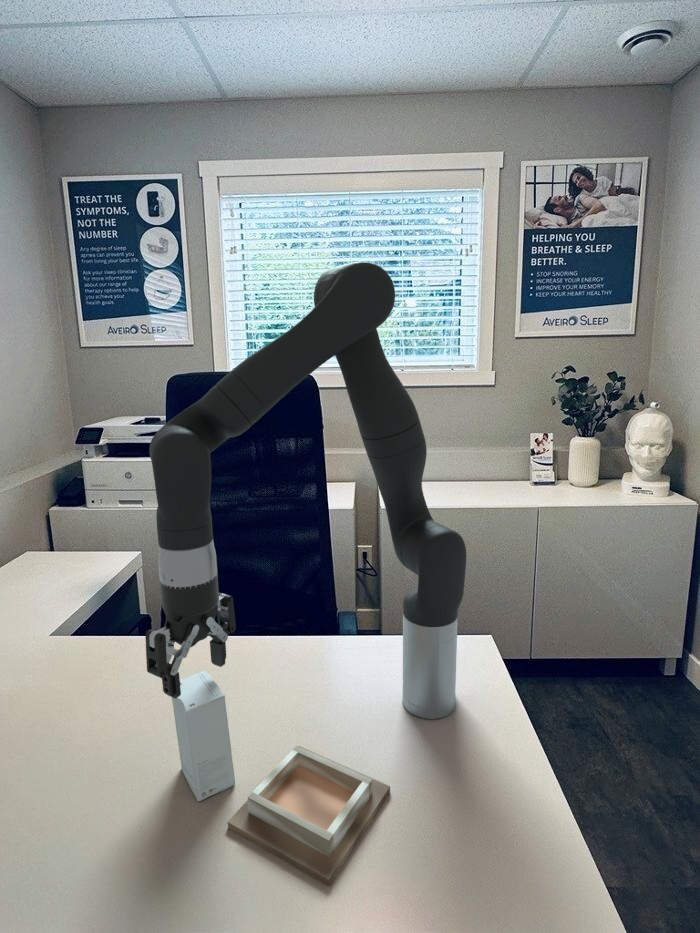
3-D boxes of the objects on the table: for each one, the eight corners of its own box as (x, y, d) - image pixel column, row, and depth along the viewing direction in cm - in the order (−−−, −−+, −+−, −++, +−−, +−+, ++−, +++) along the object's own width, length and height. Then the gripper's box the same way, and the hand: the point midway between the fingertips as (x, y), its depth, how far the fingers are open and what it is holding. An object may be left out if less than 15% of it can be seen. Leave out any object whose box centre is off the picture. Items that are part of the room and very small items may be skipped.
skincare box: (236, 785, 80) (229, 696, 76) (195, 805, 77) (186, 712, 73) (215, 750, 87) (208, 667, 83) (177, 767, 83) (168, 681, 80)
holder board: (299, 751, 86) (298, 731, 86) (390, 792, 78) (390, 771, 77) (227, 827, 73) (226, 805, 72) (328, 886, 65) (328, 862, 64)
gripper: (166, 600, 66) (176, 717, 70) (245, 560, 78) (250, 662, 82) (125, 586, 70) (137, 698, 74) (206, 550, 82) (213, 648, 86)
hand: (197, 679), depth 78 cm, fingers open, 8 cm apart
